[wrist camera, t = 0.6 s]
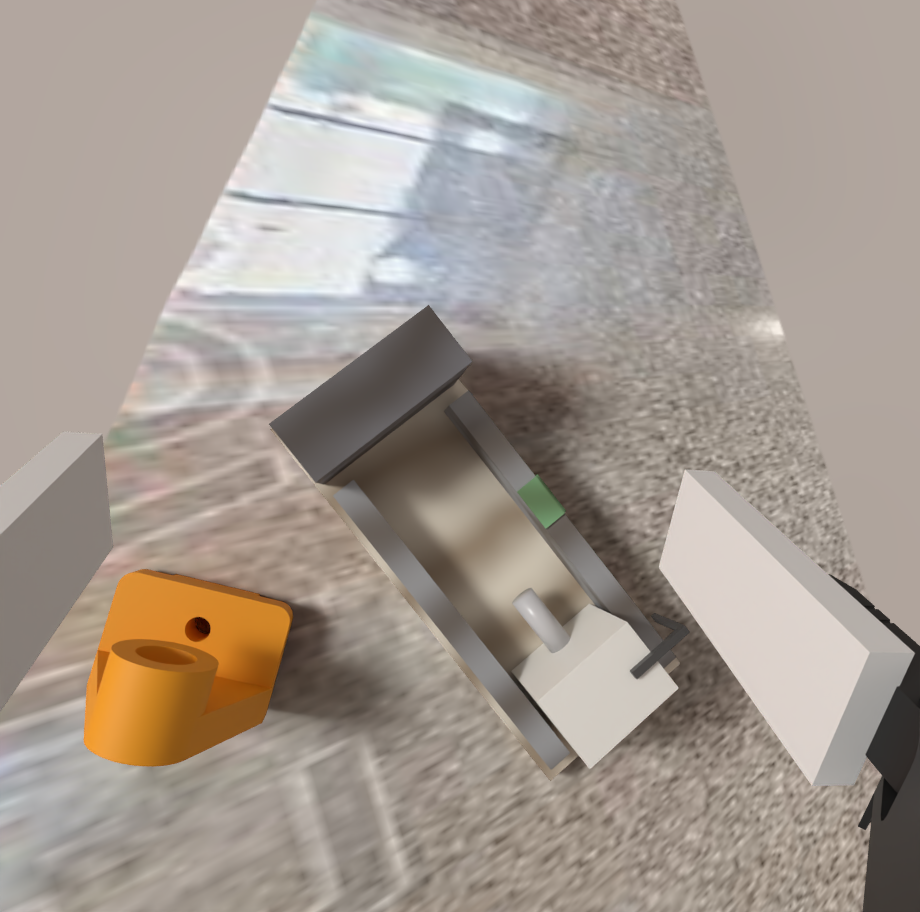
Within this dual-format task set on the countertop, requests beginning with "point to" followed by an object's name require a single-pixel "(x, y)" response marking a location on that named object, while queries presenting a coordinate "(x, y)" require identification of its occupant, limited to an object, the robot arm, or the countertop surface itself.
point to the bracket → (181, 668)
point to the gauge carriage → (593, 674)
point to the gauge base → (453, 515)
